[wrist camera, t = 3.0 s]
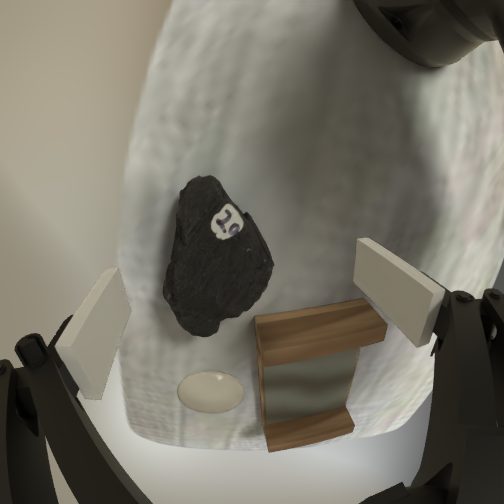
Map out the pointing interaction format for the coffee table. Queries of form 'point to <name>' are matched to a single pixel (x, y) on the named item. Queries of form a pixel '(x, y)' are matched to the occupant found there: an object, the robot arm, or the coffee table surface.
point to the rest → (311, 369)
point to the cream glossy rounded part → (210, 392)
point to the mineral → (214, 259)
